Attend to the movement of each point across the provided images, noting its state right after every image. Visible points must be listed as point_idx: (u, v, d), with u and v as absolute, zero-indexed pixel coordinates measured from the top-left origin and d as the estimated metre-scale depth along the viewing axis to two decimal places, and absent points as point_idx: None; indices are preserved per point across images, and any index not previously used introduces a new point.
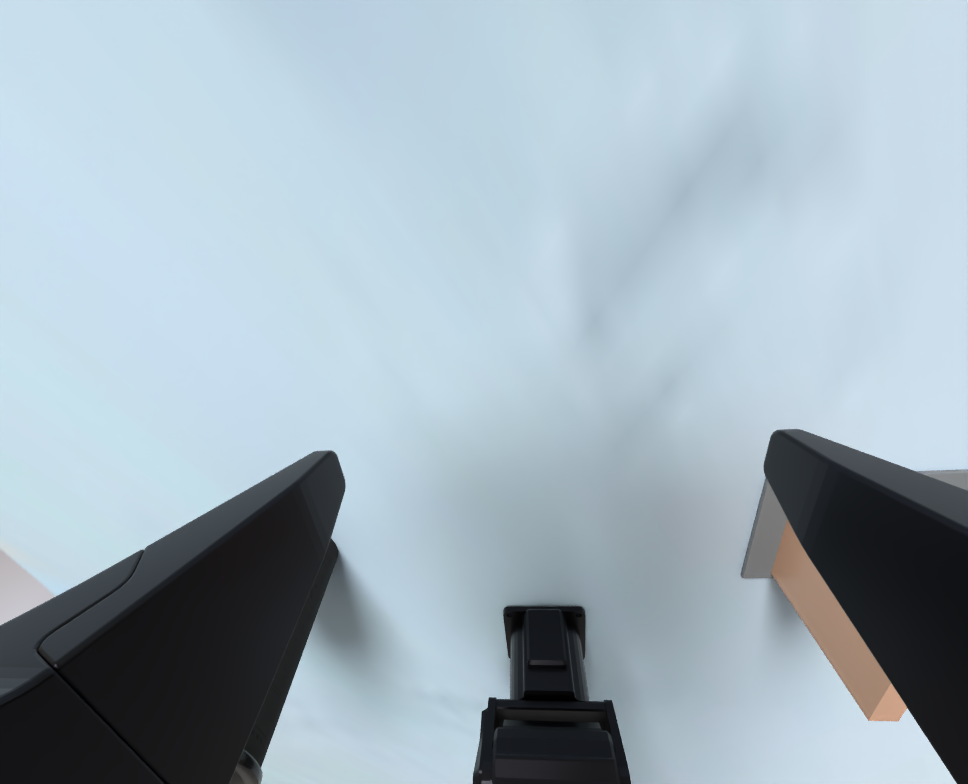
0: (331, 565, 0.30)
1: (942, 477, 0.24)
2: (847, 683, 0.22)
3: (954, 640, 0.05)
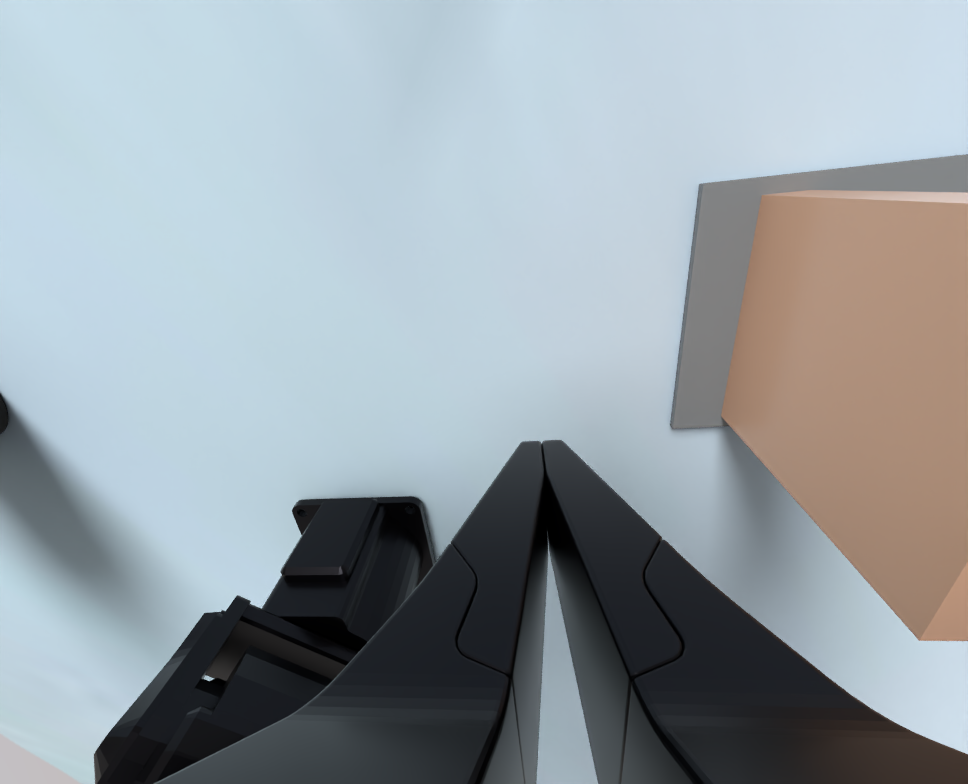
0: None
1: None
2: (863, 564, 0.10)
3: (582, 638, 0.05)
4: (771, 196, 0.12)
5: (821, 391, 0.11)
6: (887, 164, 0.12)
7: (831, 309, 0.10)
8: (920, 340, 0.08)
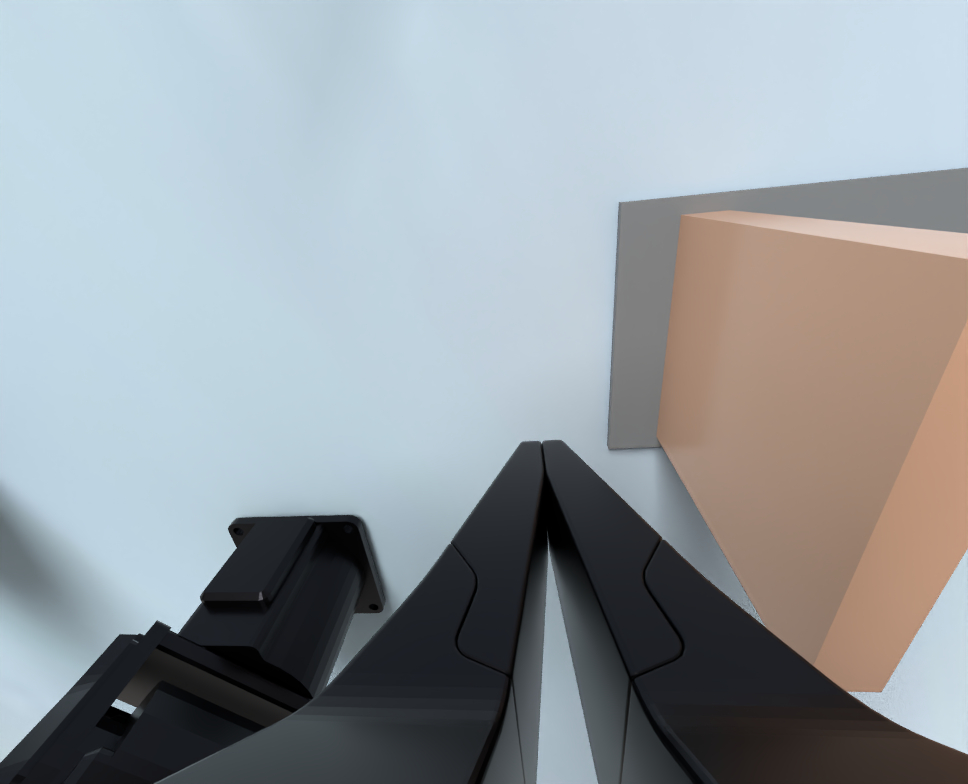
0: None
1: None
2: (760, 604, 0.09)
3: (582, 638, 0.05)
4: (687, 217, 0.12)
5: (726, 420, 0.10)
6: (805, 185, 0.12)
7: (732, 337, 0.10)
8: (797, 377, 0.07)
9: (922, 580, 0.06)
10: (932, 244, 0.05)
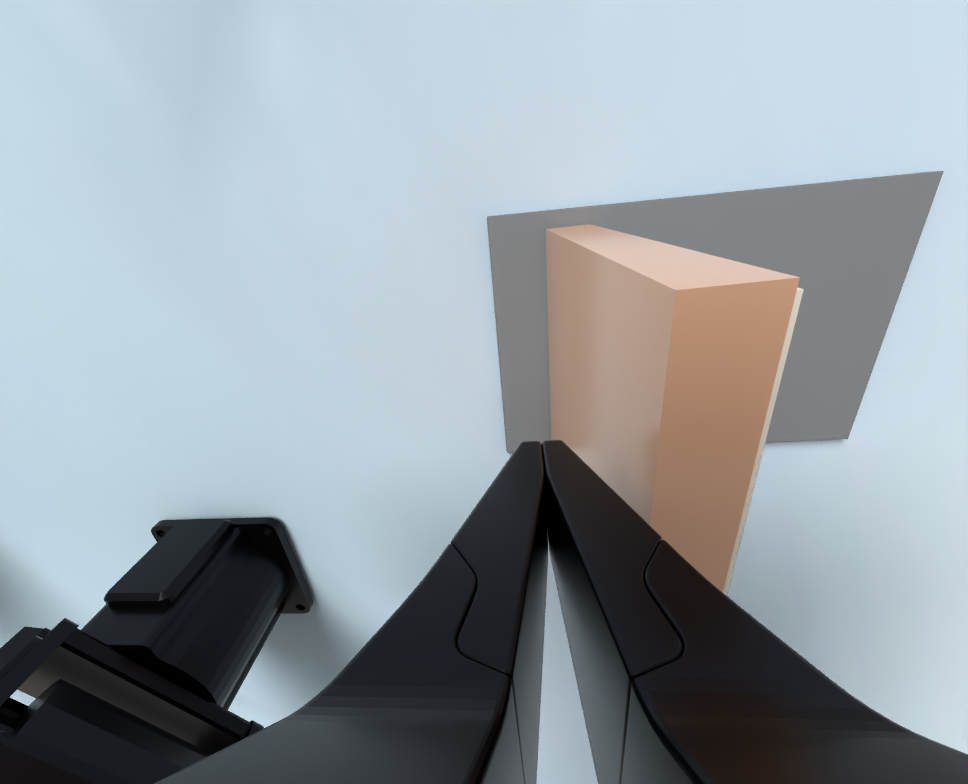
0: None
1: (821, 193, 0.12)
2: None
3: (582, 637, 0.05)
4: (548, 231, 0.12)
5: (579, 429, 0.11)
6: (657, 200, 0.12)
7: (575, 349, 0.10)
8: (605, 389, 0.08)
9: None
10: (669, 267, 0.06)
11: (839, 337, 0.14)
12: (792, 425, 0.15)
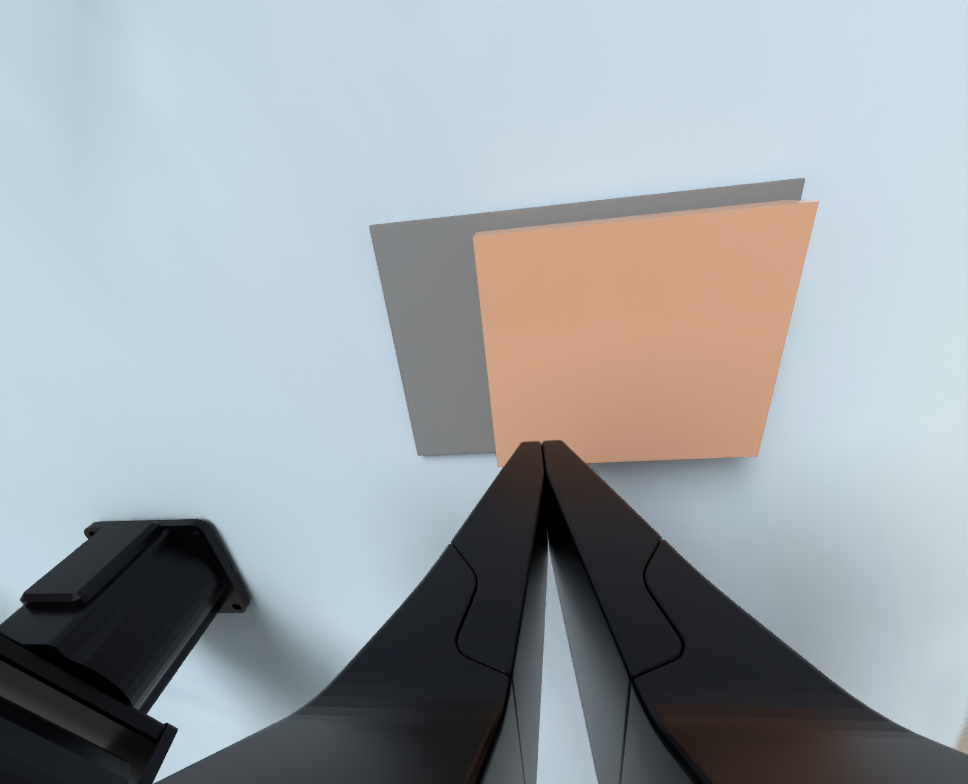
0: None
1: (689, 200, 0.12)
2: (709, 451, 0.14)
3: (582, 638, 0.05)
4: (491, 236, 0.11)
5: (632, 373, 0.13)
6: (531, 209, 0.12)
7: (621, 311, 0.12)
8: (708, 301, 0.12)
9: None
10: (754, 206, 0.11)
11: None
12: None
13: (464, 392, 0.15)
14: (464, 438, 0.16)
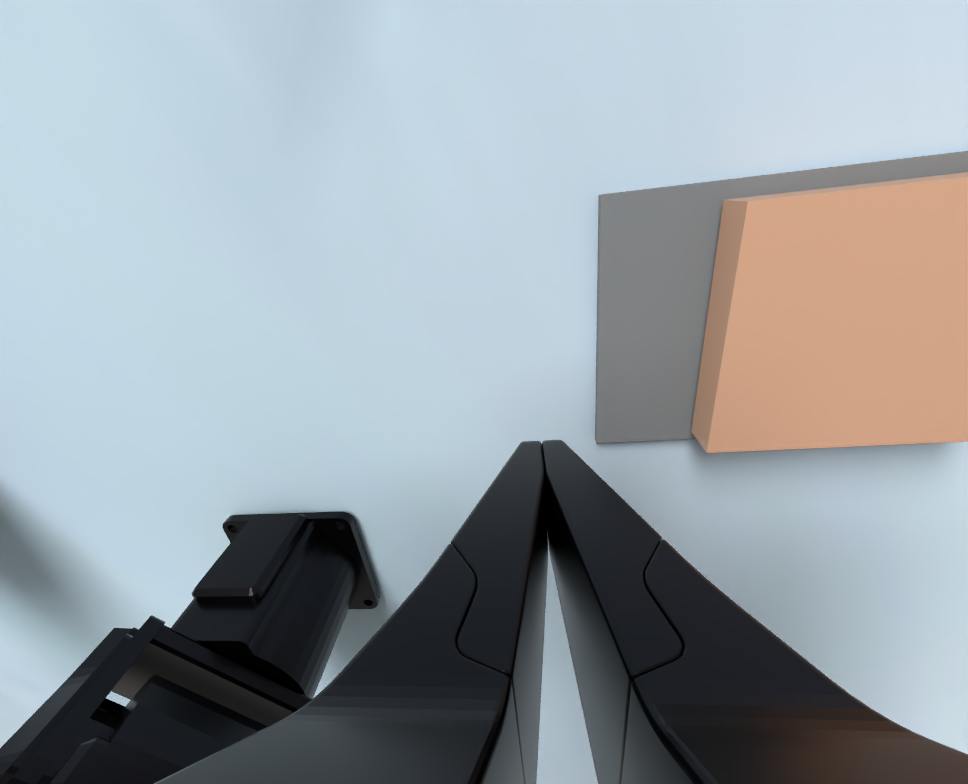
0: None
1: (966, 162, 0.11)
2: (948, 434, 0.13)
3: (582, 638, 0.05)
4: (769, 200, 0.10)
5: (886, 350, 0.12)
6: (786, 174, 0.12)
7: (892, 282, 0.11)
8: None
9: None
10: None
11: None
12: None
13: (663, 375, 0.15)
14: (651, 424, 0.16)
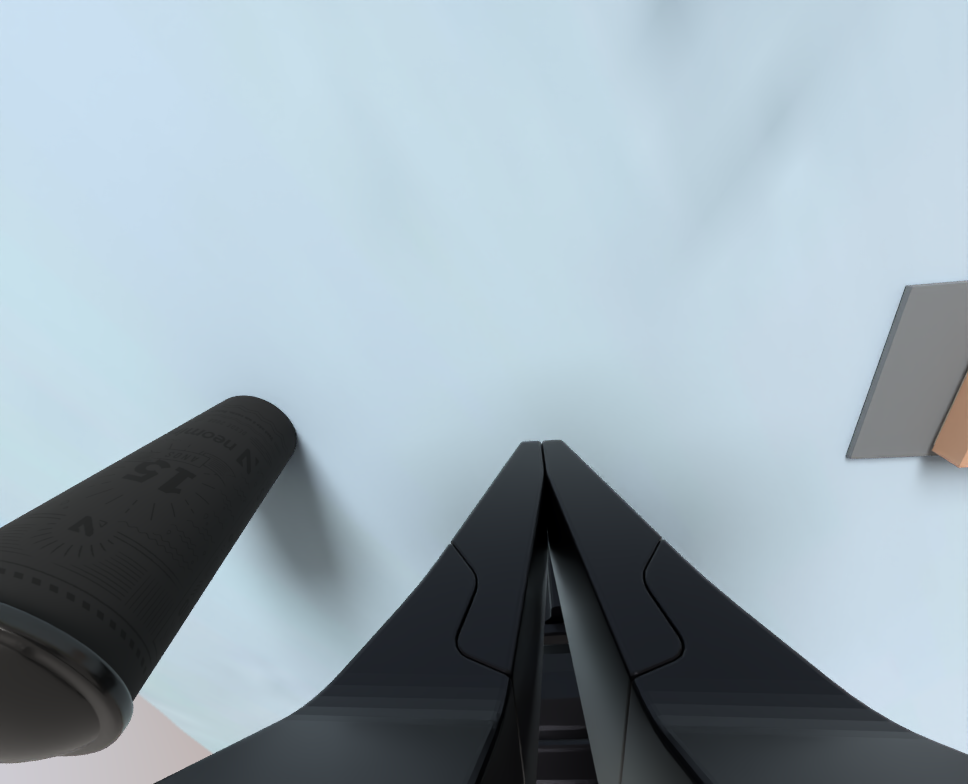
0: (285, 447, 0.22)
1: None
2: None
3: (582, 638, 0.05)
4: None
5: None
6: None
7: None
8: None
9: None
10: None
11: None
12: None
13: (919, 409, 0.20)
14: (898, 445, 0.21)
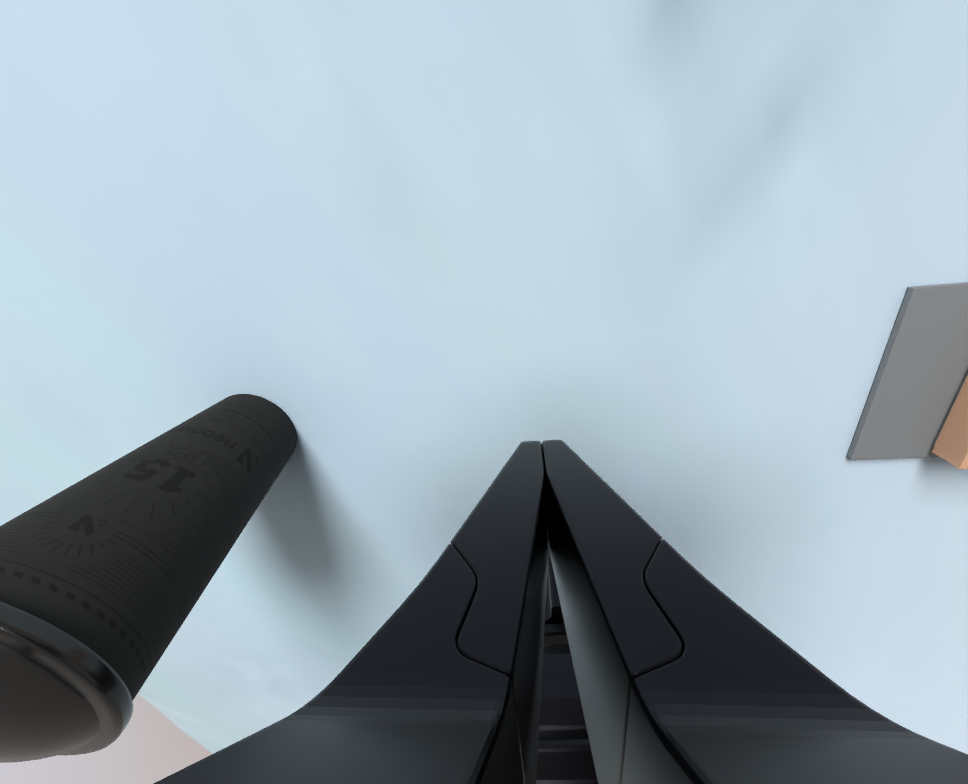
0: (285, 446, 0.22)
1: None
2: None
3: (582, 637, 0.05)
4: None
5: None
6: None
7: None
8: None
9: None
10: None
11: None
12: None
13: (920, 411, 0.20)
14: (899, 446, 0.21)
